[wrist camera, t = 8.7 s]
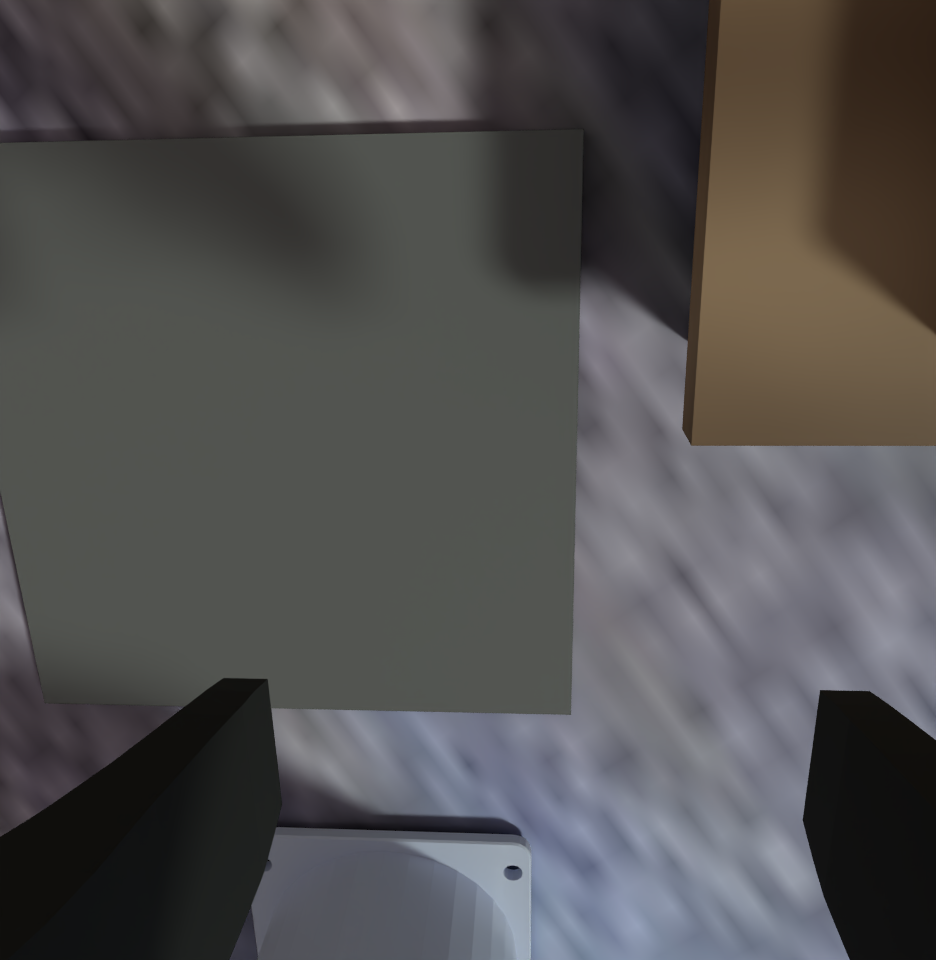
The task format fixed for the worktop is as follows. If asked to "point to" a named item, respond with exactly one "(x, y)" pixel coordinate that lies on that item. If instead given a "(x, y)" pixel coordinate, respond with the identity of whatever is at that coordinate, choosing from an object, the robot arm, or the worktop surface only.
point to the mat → (295, 416)
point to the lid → (815, 227)
